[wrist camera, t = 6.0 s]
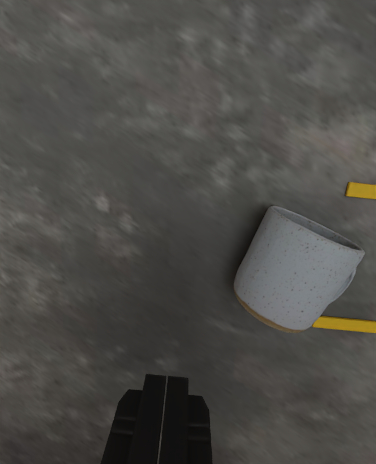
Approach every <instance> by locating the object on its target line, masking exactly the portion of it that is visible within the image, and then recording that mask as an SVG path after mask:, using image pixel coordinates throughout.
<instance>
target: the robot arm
mask: <svg viewBox="0 0 376 464" xmlns="http://www.w3.org/2000/svg"><path fill="white" fill-rule="evenodd" d="M165 385H166V376H162V375H152V374H146V377H145V382H144V387H143V391H141V390H131V389H129V390H128V391H127V392H126V393H125V395H124V396H123V397H122V398H121V400H120V401H119V403H118V406H117V410H116V413H115V417H114V420H113V423H112V427H111V430H110V434H109V437H108V441H107V444H106V447H105V451H104V454H103V458H102V461H101V464H157V459H158V450H159V441H160V432H161V423H162V414H163V404H164V395H165ZM159 464H212V449H211V433H210V417H209V409H208V407H207V405H206V403H205V401H204V399H203V397H202V396H194V395H188V378H184V377H173V376H168V383H167V392H166V402H165V411H164V421H163V430H162V439H161V449H160V458H159Z"/></svg>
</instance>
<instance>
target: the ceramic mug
mask: <svg viewBox="0 0 376 464" xmlns="http://www.w3.org/2000/svg"><path fill="white" fill-rule="evenodd" d="M364 254H365V252H364V251H363V249H362V248H361V247H360V246H358V245H357V244H355V243H354V242H352V241H350V240H349V239H347V238H345V237H343V236H341V235H340V234H338V233H336V232H334V231H332V230H330V229H328V228H326V227H324V226H322V225H320V224H318V223H316V222H314V221H312V220H309V219H307V218H305V217H303V216H301V215H299V214H296V213H294V212H292V211H289V210H287V209H283V208H281V207H277V206H270V207H269V208H268V210H267V212H266V214H265V216H264V218H263V220H262V222H261V224H260V226H259V228H258V230H257V232H256V234H255V236H254V238H253V240H252V242H251V245H250V247H249V249H248V251H247V253H246V255H245V257H244V259H243V261H242V263H241V265H240V266H239V269H238V271H237V274H236V277H235V281H234V292H235V295H236V297H237V299H238V301H239V302H240V304H241V305H242V306H243V307H244V308H245V309H246V310H247V311H248V312H249V313H250V314H251V315H253V316H254V317H255V318H257V319H258V320H260V321H261V322H263V323H265V324H266V325H268V326H270V327H272V328H275V329H277V330H280V331H284V332H289V333H298V332H302V331H304V330H306V329H308V328H309V327H310V326H311V325H312V324H313V323H314V322H315V321H316V320H317V319H318V318H319V317H320V315H321V314H322V313H323V311H324V310H325V309H326V307H327V305H328V304H329V303H331V302H333V301H334V300H335V299H337V298H338V297H339V296H340V295H341V294H342V293H343V292H344V291H345V290H346V289H347V287H348V286H349V285H350V283H351V281H352V279H353V277H354V275H355V272H356V266H357V265H358V264H359V262H360V261H361V260H362V258H363V256H364Z"/></svg>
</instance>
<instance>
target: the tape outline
mask: <svg viewBox="0 0 376 464" xmlns="http://www.w3.org/2000/svg"><path fill="white" fill-rule="evenodd" d="M345 196H350V197H359V198H369V199H376V185H371V184H362V183H352V182H348V185H347V189H346V193H345ZM312 326H313V327H319V328H329V329H339V330H349V331H360V332H370V333H376V321H370V320H359V319H349V318H339V317H329V316H320V317H319V318H318V319H317V320H316V321H315V322H314V323H313V324H312Z"/></svg>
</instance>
